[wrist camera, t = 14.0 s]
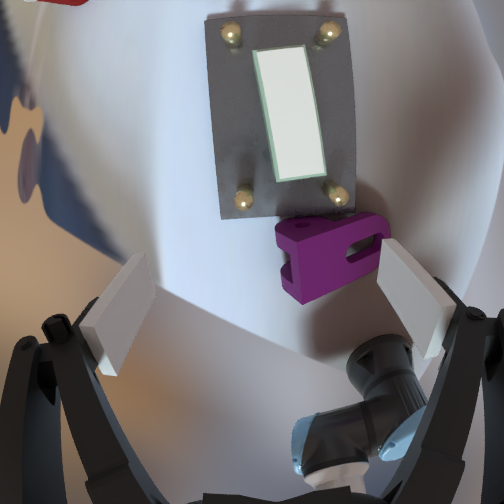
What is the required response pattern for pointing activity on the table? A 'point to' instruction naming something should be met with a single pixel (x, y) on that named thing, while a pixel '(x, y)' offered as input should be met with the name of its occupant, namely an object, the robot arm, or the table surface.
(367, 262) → the mounting bracket
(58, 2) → the plastic cup
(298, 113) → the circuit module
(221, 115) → the chassis plate
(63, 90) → the table surface
